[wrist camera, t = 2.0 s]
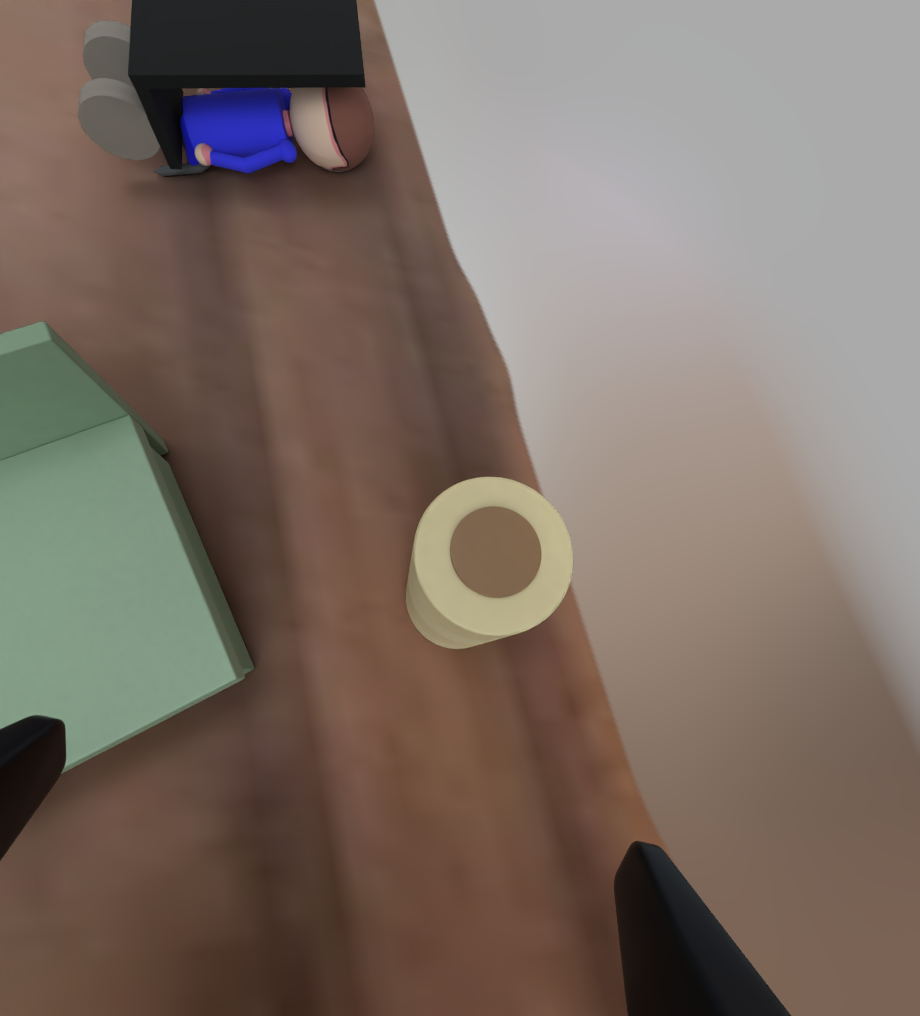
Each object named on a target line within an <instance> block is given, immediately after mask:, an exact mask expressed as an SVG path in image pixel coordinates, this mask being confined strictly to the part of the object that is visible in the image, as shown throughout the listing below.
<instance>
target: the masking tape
mask: <svg viewBox="0 0 920 1016" xmlns="http://www.w3.org/2000/svg"><path fill="white" fill-rule="evenodd" d="M572 571H573V550H572V544H571V540H570V536H569V533H568V531H567V528H566V526H565V524H564V522H563V520H562V518H561V517H560V515H559V514H558V512H557V511H556V510H555V508H554V507H553V506H552V505H551V504H550V503H549V502H548V501H547V500H546V499H545V498H544V497H543V496H542V495H540V494H539V493H538V492H536V491H535V490H533V489H532V488H530V487H528V486H526V485H524V484H522V483H519V482H517V481H514V480H510V479H506V478H500V477H479V478H472V479H469V480H465V481H462V482H460V483H458V484H455V485H453V486H452V487H450V488H448V489H446V490H445V491H444V492H442V493H441V494H440V495H439V496H437V498H436V499H435V500H434V501H433V502H432V503H431V504H430V505H429V507H428V508H427V509H426V511H425V512H424V514H423V516H422V518H421V520H420V522H419V525H418V527H417V530H416V534H415V538H414V544H413V550H412V556H411V562H410V568H409V574H408V580H407V587H406V606H407V610H408V614H409V616H410V618H411V621H412V623H413V624H414V626H415V627H416V629H417V630H418V631H419V632H420V633H421V634H422V635H423V636H424V637H425V638H427V639H428V640H429V641H431V642H433V643H435V644H437V645H439V646H442V647H446V648H451V649H463V648H469V647H473V646H476V645H480V644H483V643H487V642H490V641H494V640H497V639H501V638H504V637H508V636H511V635H515V634H518V633H521V632H524V631H527V630H529V629H531V628H533V627H535V626H537V625H538V624H540V623H541V622H543V621H544V620H545V619H547V618H548V617H549V616H550V615H551V614H552V613H553V612H554V611H555V610H556V608H557V607H558V606H559V604H560V603H561V601H562V600H563V598H564V596H565V594H566V592H567V590H568V587H569V585H570V581H571V577H572Z"/></svg>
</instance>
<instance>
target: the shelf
mask: <svg viewBox="0 0 920 1016" xmlns="http://www.w3.org/2000/svg"><path fill="white" fill-rule="evenodd" d="M166 453H168V449H167V446H166V444H165V442H164V440H163V439H162V438H161V437H160V436H159V435H158V434H157V433H156V432H155V431H154V430H153V429H152V428H151V427H150V426H149V425H148V424H147V423H146V422H145V421H144V420H143V419H142V418H141V417H140V416H139V415H138V414H137V413H136V412H135V411H134V410H133V409H132V408H131V407H130V406H129V405H128V404H127V403H126V402H125V401H124V400H123V399H122V398H121V397H120V396H119V395H118V394H117V393H116V392H115V391H114V390H113V389H112V388H111V387H110V386H109V385H108V384H107V383H106V382H105V381H104V380H103V379H102V378H101V377H100V376H99V375H98V374H97V373H96V372H95V371H94V370H93V369H92V368H91V367H90V366H89V365H88V364H87V363H86V362H85V361H84V360H83V359H82V358H81V357H80V356H79V355H78V354H77V353H76V352H75V351H74V350H73V349H72V348H71V347H70V346H69V345H68V344H67V343H66V342H65V341H64V340H63V339H62V338H61V337H60V336H59V335H58V334H57V333H56V332H55V331H54V330H53V329H52V328H51V327H50V326H49V325H48V324H47V323H46V322H44V321H41V322H38V323H35V324H31V325H28V326H25V327H21V328H18V329H15V330H11V331H8V332H5V333H1V334H0V729H1V728H4V727H6V726H8V725H10V724H13V723H15V722H17V721H19V720H21V719H24V718H26V717H29V716H32V715H43V716H47V717H52V718H57V719H60V720H62V721H63V722H64V724H65V729H66V763H65V766H64V769H63V771H62V773H64V772H66V771H68V770H70V769H72V768H73V767H75V766H77V765H79V764H81V763H83V762H85V761H87V760H89V759H91V758H93V757H95V756H97V755H99V754H100V753H102V752H104V751H106V750H108V749H110V748H112V747H114V746H116V745H118V744H120V743H122V742H124V741H126V740H127V739H129V738H131V737H133V736H135V735H137V734H139V733H141V732H143V731H145V730H147V729H149V728H151V727H153V726H154V725H156V724H158V723H160V722H162V721H164V720H166V719H168V718H170V717H172V716H174V715H176V714H178V713H180V712H181V711H183V710H185V709H187V708H189V707H191V706H193V705H195V704H197V703H199V702H201V701H203V700H205V699H207V698H208V697H210V696H212V695H214V694H216V693H218V692H220V691H222V690H224V689H226V688H228V687H230V686H232V685H234V684H236V683H237V682H239V681H241V680H243V679H244V678H245V675H244V674H246V673H248V672H250V671H252V670H254V666H253V663H252V661H251V658H250V656H249V654H248V651H247V649H246V647H245V644H244V642H243V639H242V637H241V635H240V632H239V630H238V627H237V625H236V623H235V620H234V618H233V615H232V613H231V611H230V608H229V606H228V603H227V601H226V599H225V596H224V594H223V592H222V589H221V587H220V584H219V582H218V580H217V577H216V575H215V572H214V570H213V568H212V565H211V563H210V560H209V558H208V556H207V553H206V551H205V548H204V546H203V544H202V541H201V539H200V537H199V534H198V532H197V529H196V527H195V525H194V522H193V520H192V517H191V515H190V513H189V510H188V508H187V505H186V503H185V501H184V498H183V496H182V493H181V491H180V489H179V486H178V484H177V482H176V479H175V477H174V474H173V472H172V470H171V467H170V465H169V463H168V462H167V461H166V460H165V459H163V458H162V457H161V455H164V454H166ZM62 773H61V774H62Z"/></svg>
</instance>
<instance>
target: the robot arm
mask: <svg viewBox="0 0 920 1016" xmlns="http://www.w3.org/2000/svg"><path fill="white" fill-rule="evenodd" d="M65 763H66V729H65V724H64V722H63V721H62V720H60V719H57V718H52V717H47V716H43V715H32V716H29V717H26V718H24V719H21V720H19V721H17V722H15V723H13V724H10V725H8V726H6V727H4V728H1V729H0V861H1V859H2V858H3V856H4V855H5V853H6V852H7V851H8V849H9V848H10V846H11V845H12V843H13V842H14V841H15V839H16V838H17V836H18V835H19V834H20V832H21V831H22V829H23V828H24V826H25V825H26V824H27V822H28V821H29V819H30V818H31V817H32V815H33V814H34V812H35V811H36V809H37V808H38V807H39V805H40V804H41V802H42V801H43V799H44V798H45V797H46V795H47V794H48V792H49V791H50V790H51V788H52V787H53V785H54V784H55V782H56V781H57V780H58V778H59V777H60V775H61V773H62V771H63V769H64V766H65ZM614 895H615V904H616V913H617V923H618V932H619V941H620V951H621V960H622V969H623V979H624V988H625V996H626V1004H627V1012H628V1016H791V1015H790V1014H789V1012H788V1011H787V1010H786V1008H785V1007H784V1006H783V1005H782V1004H781V1002H780V1001H779V999H778V998H777V997H776V996H775V995H774V993H773V992H772V991H771V989H770V988H769V986H768V985H767V984H766V983H765V981H764V980H763V979H762V977H761V976H760V975H759V973H758V972H757V971H756V970H755V968H754V967H753V966H752V964H751V963H750V962H749V960H748V959H747V958H746V957H745V955H744V954H743V953H742V951H741V950H740V949H739V948H738V946H737V945H736V944H735V943H734V941H733V940H732V939H731V937H730V936H729V935H728V933H727V932H726V931H725V930H724V928H723V927H722V926H721V924H720V923H719V922H718V920H717V919H716V918H715V916H714V915H713V914H712V913H711V911H710V910H709V909H708V907H707V906H706V905H705V904H704V902H703V901H702V900H701V898H700V897H699V896H698V894H697V893H696V892H695V890H694V889H693V888H692V887H691V885H690V884H689V883H688V882H687V880H686V879H685V877H684V876H683V875H682V874H681V872H680V871H679V870H678V869H677V867H676V866H675V865H674V863H673V862H672V861H671V859H670V858H669V857H668V855H667V854H666V853H665V852H664V851H663V850H662V849H661V848H660V847H659V846H657V845H654V844H649V843H645V842H640V841H635V842H633V843H632V844H631V845H630V847H629V849H628V851H627V853H626V855H625V857H624V859H623V861H622V862H621V864H620V866H619V868H618V870H617V872H616V875H615V880H614Z"/></svg>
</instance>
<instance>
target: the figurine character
mask: <svg viewBox="0 0 920 1016" xmlns="http://www.w3.org/2000/svg"><path fill="white" fill-rule="evenodd" d="M83 59H84V64H85V67H86V69H87V71H88V73H89V74H90V76H91V77H92V79H93V80H90V81H88V82H87V83H86V84H85V85H84V86H83V87H82V89H81V91H80V99H79V109H78V118H79V122H80V124H81V126H82V128H83V130H84V131H85V133H86V134H87V135H88V136H89V138H90V139H91V140H92V141H93V142H95V143H96V144H97V145H98V146H100V147H101V148H103V149H104V150H106V151H108V152H109V153H111V154H114V155H116V156H119V157H122V158H125V159H131V160H144V159H148V158H151V157H153V156H154V155H155V154H156V153H157V152H158V151H159V149H160V146H161V149H162V151H163V153H164V156H165V158H166V160H167V162H168V166H161V167H159V168H158V169H157V170H155V171H154V172H155V173H157V174H160V175H162V176H172V175H182V174H192V173H203V172H204V171H205V170H207V169H208V168H209V167H211V166H210V165H214V166H218V167H222V168H227V169H231V170H236V171H240V172H244V173H248V174H251V173H252V172H254V171H257V170H259V169H262V168H264V167H267V166H269V165H272V164H274V163H276V162H279V161H281V160H283V161H285V162H287V163H292V162H294V161H295V160H296V158H297V151H296V148H295V146H294V145H293V136H295V138H296V141H297V142H298V144H299V146H300V148H301V149H302V151H303V152H304V153H305V154H306V156H307V157H308V158H309V159H310V160H311V161H313V162H314V163H315V164H317V165H318V166H320V167H322V168H324V169H326V170H329V171H335V172H342V171H347V170H350V169H352V168H354V167H356V166H357V165H359V164H360V163H361V162H362V161H363V160H364V159H365V157H366V156H367V154H368V152H369V150H370V148H371V145H372V141H373V137H374V117H373V112H372V108H371V105H370V102H369V100H368V97H367V95H366V93H365V92H364V90H363V88H362V87H365V78H364V68H363V59H362V50H361V40H360V31H359V22H358V12H357V3H356V0H132V12H131V27H129V26H127V25H124V24H122V23H119V22H115V21H108V20H105V21H98V22H95V23H93V24H92V25H91V26H90V27H89V28H88V29H87V31H86V33H85V40H84V50H83ZM182 88H202V89H199V90H198V91H197V92H196V95H192V96H184V97H183V91H182ZM203 88H224V89H220V90H216V91H212V92H209V91H208V90H207V89H203ZM270 88H271V89H270ZM279 88H280V89H279ZM286 88H294V89H293V92H292V93H291V92H290V91H289V90H288V89H286ZM289 110H290V113H289ZM182 142H184V146H185V150H186V155H187V159H188V162H189V163H188V164H182Z"/></svg>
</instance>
